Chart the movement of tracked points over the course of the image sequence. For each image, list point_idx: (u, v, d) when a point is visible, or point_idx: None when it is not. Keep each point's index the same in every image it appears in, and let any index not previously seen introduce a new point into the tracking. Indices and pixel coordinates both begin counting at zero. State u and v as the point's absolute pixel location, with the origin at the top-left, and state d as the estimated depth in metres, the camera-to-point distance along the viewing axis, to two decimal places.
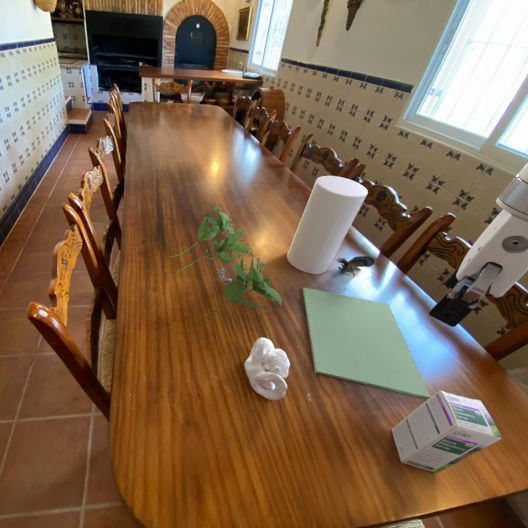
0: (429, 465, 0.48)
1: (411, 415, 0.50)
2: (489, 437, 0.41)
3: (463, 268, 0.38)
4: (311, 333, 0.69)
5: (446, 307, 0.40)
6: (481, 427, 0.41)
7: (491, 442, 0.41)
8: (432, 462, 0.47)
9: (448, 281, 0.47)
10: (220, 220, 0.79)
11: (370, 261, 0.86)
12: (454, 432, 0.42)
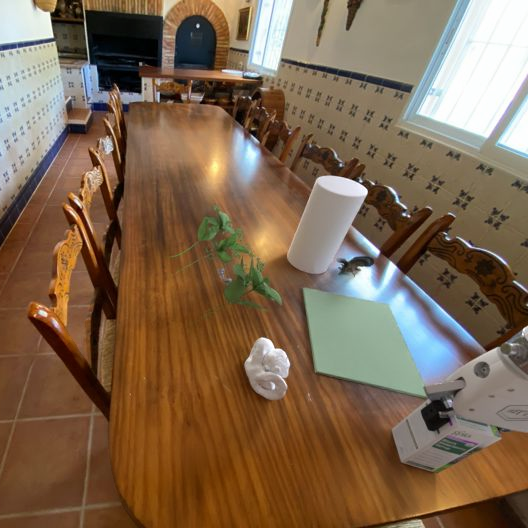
0: (429, 465, 0.48)
1: (411, 415, 0.50)
2: (489, 437, 0.41)
3: None
4: (311, 333, 0.69)
5: (428, 407, 0.45)
6: (481, 427, 0.41)
7: (491, 442, 0.41)
8: (432, 462, 0.47)
9: None
10: (220, 220, 0.79)
11: (370, 261, 0.86)
12: (454, 432, 0.42)
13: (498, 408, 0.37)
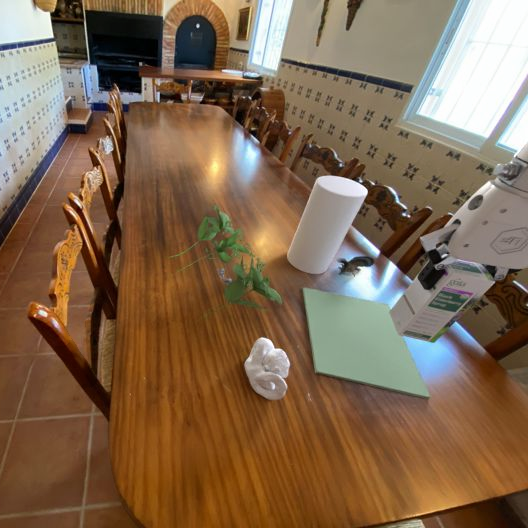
0: (425, 333, 0.49)
1: (408, 288, 0.51)
2: (483, 282, 0.42)
3: None
4: (311, 333, 0.69)
5: (424, 267, 0.46)
6: (476, 274, 0.42)
7: (485, 289, 0.42)
8: (429, 328, 0.49)
9: None
10: (220, 220, 0.79)
11: (370, 261, 0.86)
12: (450, 282, 0.43)
13: (491, 238, 0.38)
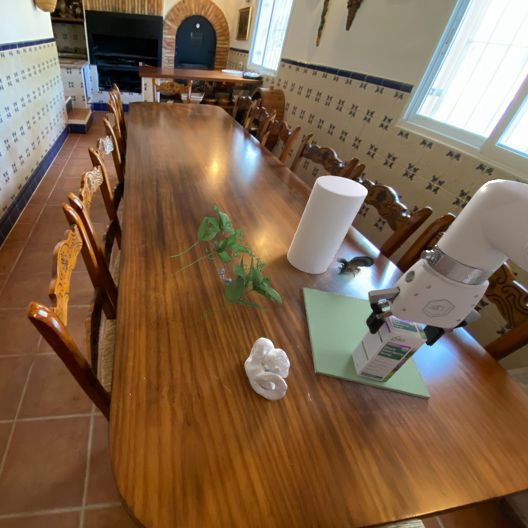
0: (378, 375, 0.59)
1: (365, 336, 0.61)
2: (418, 340, 0.52)
3: None
4: (311, 333, 0.69)
5: (370, 315, 0.55)
6: (412, 332, 0.52)
7: (420, 344, 0.52)
8: (380, 371, 0.59)
9: (423, 330, 0.55)
10: (220, 220, 0.79)
11: (370, 261, 0.86)
12: (392, 338, 0.53)
13: (422, 305, 0.47)
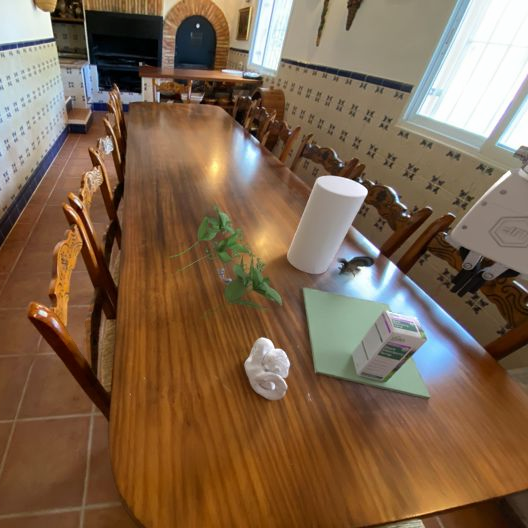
0: (378, 375, 0.59)
1: (365, 336, 0.61)
2: (418, 340, 0.52)
3: None
4: (311, 333, 0.69)
5: None
6: (412, 332, 0.52)
7: (420, 344, 0.52)
8: (380, 371, 0.59)
9: None
10: (220, 220, 0.79)
11: (370, 261, 0.86)
12: (392, 338, 0.53)
13: (491, 224, 0.37)
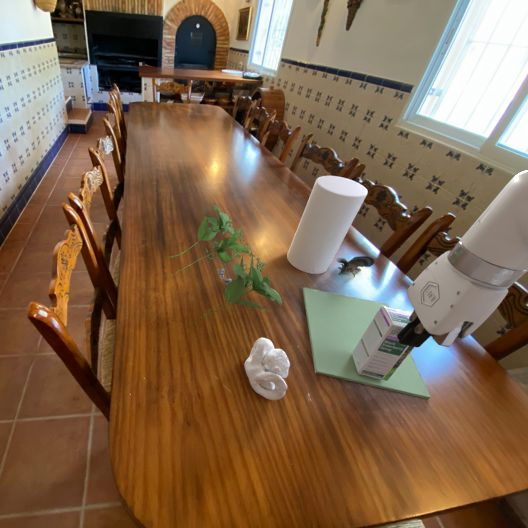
0: (379, 372, 0.59)
1: (364, 334, 0.62)
2: None
3: None
4: (311, 333, 0.69)
5: None
6: None
7: None
8: (381, 368, 0.59)
9: None
10: (220, 220, 0.79)
11: (370, 261, 0.86)
12: (391, 331, 0.54)
13: (423, 285, 0.47)
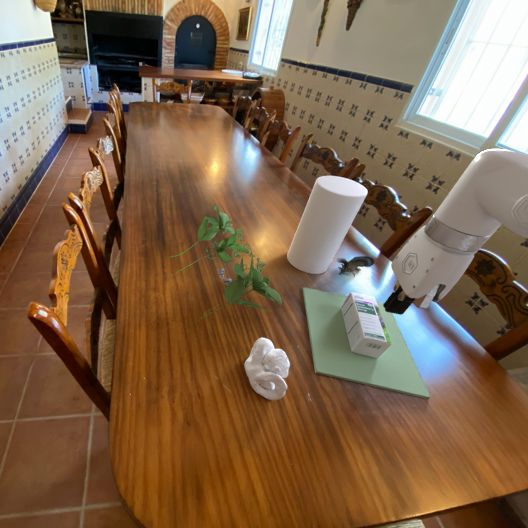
0: (377, 333, 0.63)
1: (346, 328, 0.70)
2: (369, 297, 0.72)
3: None
4: (311, 333, 0.69)
5: None
6: None
7: (374, 300, 0.71)
8: (375, 329, 0.64)
9: None
10: (220, 220, 0.79)
11: (370, 261, 0.86)
12: (354, 296, 0.71)
13: (405, 256, 0.53)
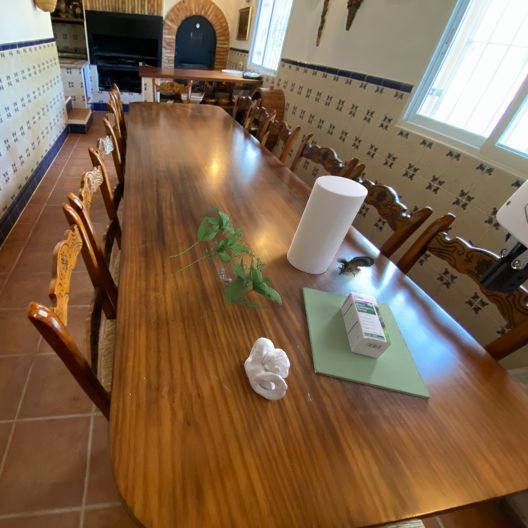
0: (377, 333, 0.63)
1: (346, 328, 0.70)
2: (369, 297, 0.72)
3: None
4: (311, 333, 0.69)
5: None
6: None
7: (374, 300, 0.71)
8: (375, 329, 0.64)
9: None
10: (220, 220, 0.79)
11: (370, 261, 0.86)
12: (354, 296, 0.71)
13: None
